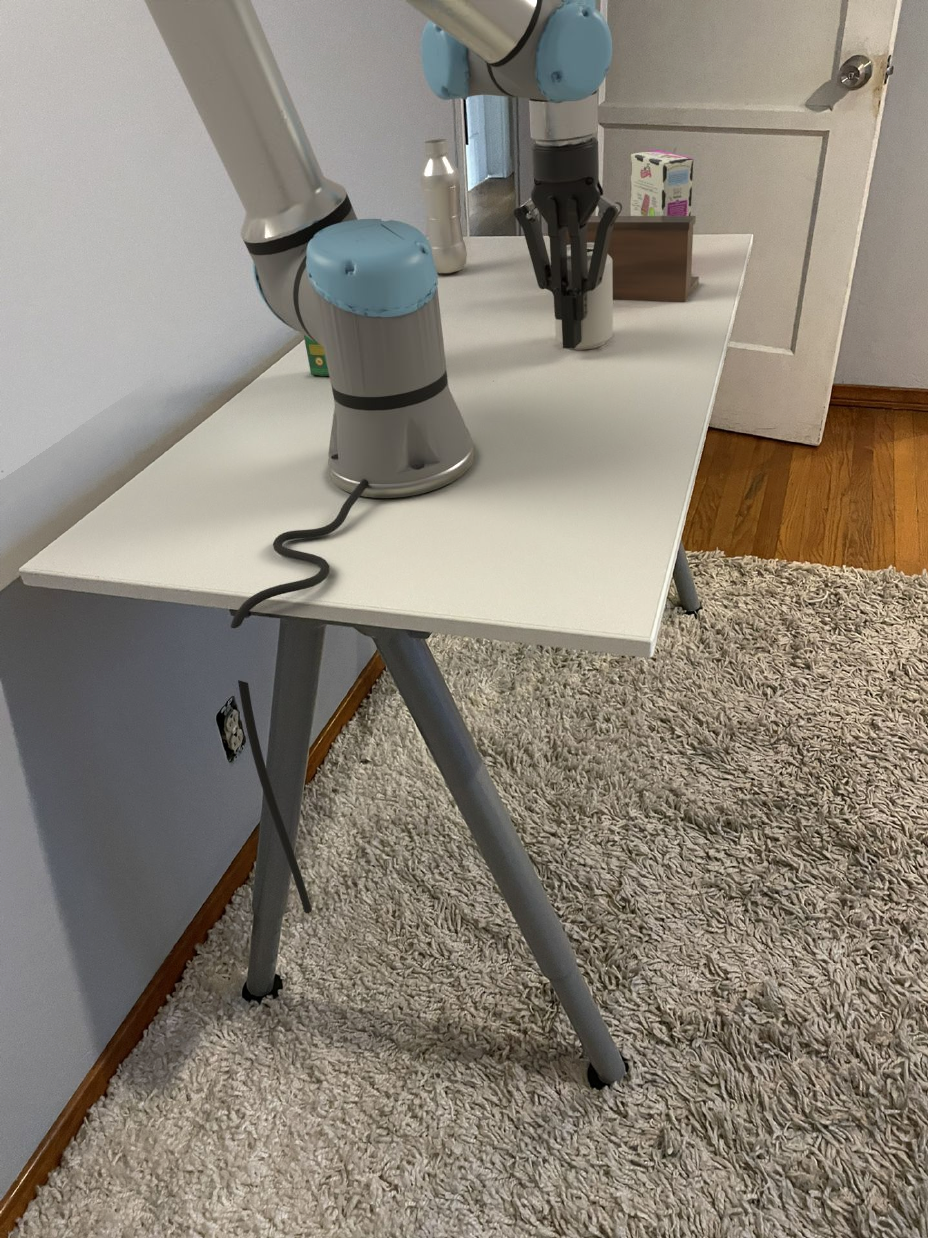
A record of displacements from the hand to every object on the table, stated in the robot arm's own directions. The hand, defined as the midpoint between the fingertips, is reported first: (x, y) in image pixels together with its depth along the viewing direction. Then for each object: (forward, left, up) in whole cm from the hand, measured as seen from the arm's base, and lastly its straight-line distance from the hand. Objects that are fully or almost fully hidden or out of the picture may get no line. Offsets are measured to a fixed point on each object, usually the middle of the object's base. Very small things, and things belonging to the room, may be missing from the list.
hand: (572, 344), depth 117 cm
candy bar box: (+38, -1, -2) cm, 38 cm away
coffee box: (-11, +28, -2) cm, 30 cm away
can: (+5, 0, -2) cm, 5 cm away
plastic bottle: (+34, +34, -2) cm, 48 cm away
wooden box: (+27, 0, -2) cm, 27 cm away
